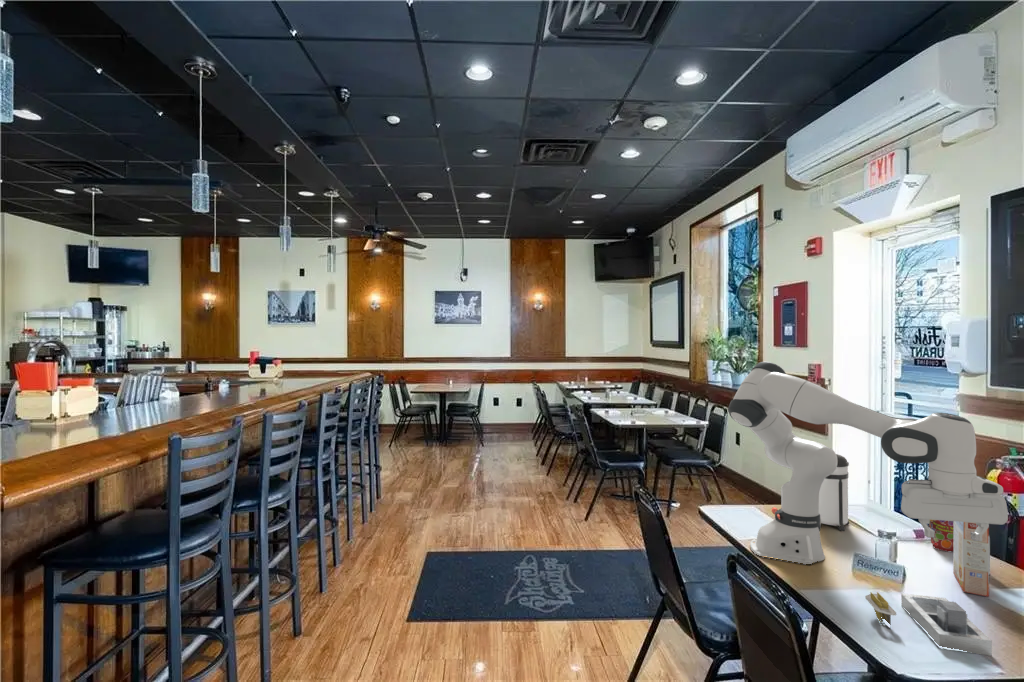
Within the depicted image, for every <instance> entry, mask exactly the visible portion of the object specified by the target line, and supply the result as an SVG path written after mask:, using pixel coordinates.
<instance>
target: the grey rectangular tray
mask: <svg viewBox="0 0 1024 682" xmlns="http://www.w3.org/2000/svg"><path fill="white" fill-rule="evenodd" d="M900 600H901V607H902V606H903V607H904V608H905V609H906V610H907V611H908V612H909V613H910V615H911V616H912V617H913V618H914V619H915V620H916V621H917V622H918V623H919V624H920V625H921V626H922V627H923V628H924V629H925V630H926V631H927V632H928V634H929V635H930V636H931V637H932V638H933V639H934V641H935V642H936V643H937V644H938V645H939V646H942V647H947V648H951V649H953V648H954V649H959V650H963V651H967V652H972V653H971V654H974V653H976V654H975V655H982V656H990V657H992V656H993V653H992V652H993V648H992V647H993V640H992V639H991V638H990V637H988V636H987V635H986V634H985V632H983V631H982V630H981V629H980V628H979V627H978V626H976V625H975V624H974V623H973V622H972V621H971V620H970V619H969V618H968V617H967V634H960V633H952V632H944V631H943V630H942V629H941V628H940V627H939V626H938V625H937V606H938V600H940V601H949V600H948V599H947V598H946V597H938V596H937V597H936V596H930V595H929V596H928V595H919V594H909V593H901V599H900ZM903 607H902V608H903ZM904 608H903V609H904ZM910 615H909V616H910ZM911 616H910V617H911ZM912 617H911V618H912Z"/></svg>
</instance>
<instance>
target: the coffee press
mask: <svg viewBox="0 0 1024 682" xmlns="http://www.w3.org/2000/svg"><path fill="white" fill-rule="evenodd" d="M836 455H837V460H838V463H837V467H836V469H835V471H834V472H833V473H832V474H831V475H829V476H827V477H826V478H825V479H824V481H823V482H822V484H821V487H820V491H819V514H820V518H821V524H824V525H827V526H834V527H836V528H837V529H838V530H839V532H845V531H846V529H845V525H847V526H848V525H849V524H850V521H849V477H850V476H849V472H848V471H849V470H848V469H849V466H850V462H849V461H848V460H847V458H846V457H845V456H843V455H841V454H838V453H836Z"/></svg>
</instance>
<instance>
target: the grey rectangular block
mask: <svg viewBox="0 0 1024 682" xmlns="http://www.w3.org/2000/svg"><path fill="white" fill-rule="evenodd" d="M967 618H968V614H967V611H966V610H965V609H964V608H963V607H961V606H960V605H959V604H958V603H957V602H956V601H949V600H948V601H940V600H938V606H937V625H938V626H939V627H940V628H941V629H942V630H943V631H944V632H952V633H960V634H967Z"/></svg>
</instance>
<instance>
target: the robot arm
mask: <svg viewBox="0 0 1024 682" xmlns="http://www.w3.org/2000/svg"><path fill="white" fill-rule="evenodd" d="M727 412H728V414H729V416H730V417H731V419H732V420H734V422H736V423H737V424H739V425H741V426H743V427H745V428H748V429H750V430H751V432H752V433H754V434H755V436H756V437H757V438H758V439H759V440H760V441H761V442H762V443H763V445H764V454H765V456H766V457H767V458H768V459H769V460H770V461H772V462H773V463H775V464H777V465H778V466H780V467H784V468H787V469H790V470H791V471H792V473H791V477H790V479H789V481H787V482H785V483H784V484H782V485H781V488H780V492H781V493H780V494H781V495H780V497H781V498H780V499H781V500H780V502H781V503H780V504H781V505H780V506H781V507H780V508H779V509H778V508H777V507H775V506H774V507H772V508H771V513H772V514H773V515H774V519H772V520H771V521H769V522H767V524H766V523H765V525H763V526H761V527H760V528H759V529H758V532H757V535H756V539H755V538H754V539H752V540H750V542H749V548H750V547H751V548H750V550H751V551H753V552H754V555H756V554H757V555H759V556H767V557H773V558H778V559H783V560H787V561H786V562H788V561H792V562H791V563H794V562H798V563H797V564H800V563H803V564H802V565H806V564H811V565H812V563H813V562H814V563H817V561H818V562H822V561H823V560H825V558H826V556H825V553H824V549H823V546H822V545H823V544H822V540H821V533H820V532H821V528H822V527H821V526H822V523H821V518H820V514H819V491H820V487H821V484H822V482H823V481H824V479H825V478H826V477H827V476H829V475H831V474H832V473H833V472H834V471H835V469H836V467H837V463H838V460H837V455H836V454H837V453H836V451H834V449H833V448H831V447H829V446H827V445H825V444H823V443H822V442H818V441H813V440H812V439H806V438H803V437H800V436H797V435H796V434H794V433H793V424H792V422H791V420H790V419H789V418H788V417H787V416H786V415H788V416H790V417H793V418H795V419H797V420H800V421H802V422H806V423H809V424H813V425H831V424H834V425H835V424H836V425H845V426H848V427H852V428H854V429H857V430H860V431H862V432H865V433H868V434H870V435H872V436H876V437H878V438H880V445H881V448H882V451H883V453H885V455H886V456H887V457H888V458H890V459H891V460H893V461H895V462H898V463H901V464H902V463H903V464H925V463H926V464H928V479H914V478H909V479H908V480H906V481H904V482H903V483H902V484H901V494H902V497H901V503H900V505H901V506H900V510H901V512H902V513H903V514H904V515H905V516H907V517H908V518H909V519H918V522H919V523H920V525H921V526H922V528H923V531H924V532H923V534H924V536H925V537H926V538H930V539H931V538H935V535H934V534H935V531H934V530H933V529H931V528H930V526H929V525H928V524H929V519H930V520H944V521H958V522H972V523H976V524H977V525H978V527H977V528H976V530H975V532H971V539H972V540H973V541H980V542H982V535H983V534H984V533H985V531H986V530H987V529H988V524H989V525H1005V524H1006V523H1007V522H1008V519H1009V514H1008V506H1007V505H1008V504H1007V501H1006V499H1005V497H1004V496H1003V495H1002V494H1004V487H1003V486H1002V485H1000V484H999V483H997V482H995V481H992V480H990V479H986V478H984V477H982V476H979V475H977V468H976V466H975V458H976V456H977V439H976V433H975V428H974V425H973V424H972V422H971V421H970V420H968V419H967V418H965V417H963V416H960V415H957V414H952V413H948V412H947V413H946V412H932V413H931V414H929V415H928V416H925V417H923V418H919V419H916V418H910V417H896V416H895V417H894V416H890V415H887V414H884V413H882V412H878V411H876V410H873V409H870V408H868V407H865V406H863V405H859V404H858V403H857V404H856V403H855V402H852V401H850V400H847V399H846V398H844V397H842V396H839V395H838V394H836V393H834V392H833V391H830V390H829V389H827V388H824V387H823V386H820V385H818V384H816V383H814V382H811V381H809V380H807V379H804V378H800V377H798V376H794V375H791V374H787V373H786V372H785V370H784V369H783V368H782V367H781V366H780V365H778V364H776V363H774V362H771V361H761V362H758V363H757V364H756V365H754V367H752V368H751V371H750V372H749V373H748V374H747V376H746V377H745V378H744V379H743V380H742V382H741V383H740V386H739V388H738V389H737V391H736V393H735V395H734V396H733V399H731V400H730V403H729V405H728V408H727ZM785 414H786V415H785ZM753 542H755V543H753ZM753 552H752V553H753ZM757 555H756V556H757ZM759 556H758V557H759ZM814 563H813V564H814Z"/></svg>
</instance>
